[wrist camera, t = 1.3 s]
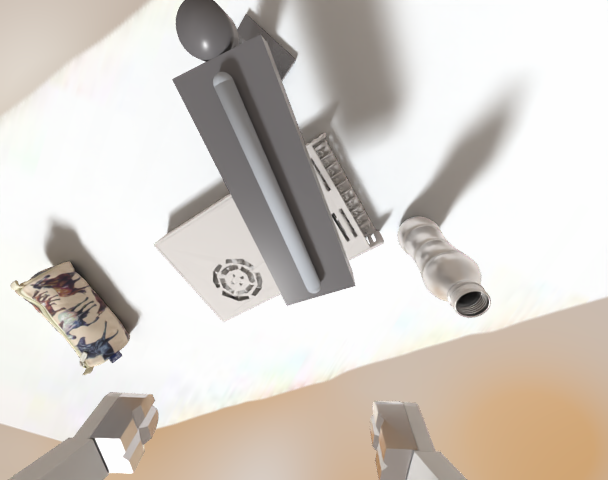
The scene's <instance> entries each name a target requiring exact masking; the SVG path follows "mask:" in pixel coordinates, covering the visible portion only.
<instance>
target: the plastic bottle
mask: <svg viewBox="0 0 608 480" xmlns="http://www.w3.org/2000/svg"><path fill="white" fill-rule="evenodd" d="M397 236H398V242H399V244H400V246H401V248H402V249H403V250H404V251H405V252H406V253H407V254H409V255H410V256H411V257H412V259H413V260H414V261H415V262H416V264H417V266H418V268H419V270H420V273H421V276H422V278H423V282H424V284H425V286H426V288H427V289H428V291H429V292H430V293H431V294H433V295H434V296H435V297H437V298H439V299H441V300H443V301H447V302H449V303H450V305H451V306H452V307H453V308H454V309H455V311H456V312H457V313H458V314H459V315H461V316H463V317H468V318H472V317H477V316H480V315H482V314H483V313H485V312H486V311H487V310H488V309H489V307H490V304H491V300H490V297H489V295H488V294H487V293H486V292H485V290H484V288H483V287H482V286H481V285H480V284H481V273H480V270H479V267H478V265H477V264H476V262H475V261H474V260H472V259H471V258H470V257H469V256H467V255H466V254H464V253H462V252H461V251H459V250H458V249H456V248H455V247H454V246H452V245H451V244H450V243H449V242H448V241H447V240H446V239H445V237H444V236H443V234H442V232H441V230H440V229H439V227H438V225H437V224H436V223H435V222H433V221H432V220H430V219H428V218H425V217H421V216H416V217H412V218H409V219H407V220H406V221H404V222H403V223H402V224H401V226H400V227H399V229H398V234H397Z"/></svg>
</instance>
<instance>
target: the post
mask: <svg viewBox="0 0 608 480" xmlns="http://www.w3.org/2000/svg"><path fill="white" fill-rule="evenodd" d="M237 31H238V37H239V45H241V44H243V43H245V42H246V41H248V40H250V39H252V38H254V37H256V36H258V35H260V34H261V35H262V37H263V38H264V39H265V40H266V42H267V43H268V46H269V48H270V51H271V54H272V57H273V59H274V62H275V65H276V67H277V70H278V73H279V75H280V78H281V81H283V79H284V78H285V76H286V75H287V73H288V72H289V70H290V69H291V67H292V66H293V64H294V63H295V61H296V59H295V58H293V57H292V56H291V55H290V54H289V53H288V52H287V51H286V50H285V49H284V48H283V47H282V46H280V45H279V44H278V43H277V42H276V41H275V40H274V39H273V38H272V37H271V36H270V35H269V34H267V33H266V32H265V31H264V30H263V29H262V28H261V27H260V26H259V25H258V24H257V23H256V22H254V21H253V20H252V19H251V18H250V17H249V16H248V15H247V14H246V15H245V17H244V19H243V20H242V22H241V24H240V26H239V28H238V29H237ZM239 45H238V46H239Z"/></svg>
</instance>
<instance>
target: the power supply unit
mask: <svg viewBox="0 0 608 480" xmlns="http://www.w3.org/2000/svg"><path fill="white" fill-rule="evenodd" d="M325 137H326V133H323V134H321V135H319V138H317V139H316V138H315V139H313V140H312V142H311V143H307V144H306V148H307V151H308V153H309V156H310V159H311V161H312V164H313V167H314V170H315V172H316V175H317V178H318V180H319V183H320V186H321V188H322V191H323V194H324V196H325V199H326V202H327V205H328V207H329V210H330V213H331V215H332V218H333V221H334V223H335V226H336V229H337V231H338V234H339V237H340V240H341V242H342V245H343V248H344V250H345V253H346V256H347V258H348V261H349V260H351V259H353V258H355V257H357V256H359V255H361V254H363V253H365V252H367V251H369V250H371V249H373V248H375V247H377V246H379V245H381V244H383V242H384V240H383V238H382V236H381V234H380V232H379V230H378V231H376V229H375V227H374V225H373V224H372V222H371V220H370V218H369V216H368V214H367V213H366V211H365V209H364V207H363V205H362V204H361V202H360V200H359V198H358V196H357V195H356V193H355V191H354V189H353V187H352V186H351V184H350V182H349V180H348V178H347V176H346V175H345V173H344V171H343V169H342V167H341V166H340V164H339V162H338V160H337V158H336V157H335V155H334V153H333V151H332V149H331V147H330V146H329V144H328V142H327V140H326V138H325ZM372 233H374V236H375V238H376V240H377V241H376V242H373V240H372V238H371V235H370V234H372ZM366 236H367V237H368V239H369V242H370V244H368V242H367V240H366V238H365V237H366ZM154 246H155V247H156V248H157V249H158V250H159V251H160V253H161V254H162V255H163V256H164V257H165V258H166V259H167V260H168V261H169V263H170V264H171V265H172V266H173V267H174V268H175V269H176V270H177V271H178V273H179V274H180V275H181V276H182V277H183V278H184V279H185V280H186V281H187V283H188V284H189V285H190V286H191V287H192V288H193V289H194V290H195V291H196V293H197V294H198V295H199V296H200V297H201V298H202V299H203V300H204V301H205V303H206V304H207V305H208V306H209V307H210V308H211V309H212V310H213V311H214V313H215V314H216V315H217V316H218V317H219V318H220V319H221V320H222V321H223V322H225V321H227V320H229V319H231V318H233V317H235V316H237V315H239V314H241V313H243V312H245V311H247V310H249V309H251V308H253V307H255V306H257V305H259V304H261V303H264V302H266V301H268V300H270V299H272V298H274V297H276V296H278V295H280V294H281V293H280V291H279V289H278V287H277V285H276V283H275V281H274V279H273V277H272V275H271V273H270V271H269V269H268V267H267V265H266V263H265V261H264V259H263V257H262V255H261V253H260V251H259V249H258V247H257V245H256V243H255V241H254V240H253V238H252V236H251V234H250V232H249V230H248V228H247V226H246V224H245V222H244V220H243V218H242V216H241V214H240V212H239V210H238V208H237V206H236V204H235V202H234V200H233V198H232V196H231V194H228V195H226V196H225V197H223V198H222V199H220V200H219V201H217V202H216V203H214V204H212V205H211V206H209V207H208V208H206V209H205V210H203V211H202V212H200V213H198V214H197V215H195V216H194V217H192V218H191V219H189V220H188V221H186V222H185V223H183V224H181V225H180V226H178V227H177V228H175V229H174V230H172V231H171V232H169V233H168V234H166V235H165V236H164V237H162V238H161V239H160V240H159V241H157V242H156V243H155V244H154Z"/></svg>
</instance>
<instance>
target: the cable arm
mask: <svg viewBox="0 0 608 480" xmlns="http://www.w3.org/2000/svg"><path fill="white" fill-rule="evenodd" d="M176 30H177V34H178V37H179V40H180V42H181V44H182V45H183V47H184V48H185V49H186V50H187V51H188V52H189V53H190V54H191V55H192V56H194V57H196V58H198V59H201V60H203V61H205V63H203V64H201V65H199V66H197V67H195V68H194V69H192V70H190V71H188V72H186V73H184V74H182V75H180V76H178V77H176V78H174V79H172V80H173V82H174V84H175V86H176V88H177V90H178V92H179V94H180V95H181V97H182V99H183V101H184V103H185V105H186V107H187V109H188V111H189V113H190V115H191V117H192V119H193V121H194V123H195V125H196V127H197V129H198V131H199V133H200V135H201V137H202V139H203V141H204V143H205V145H206V147H207V149H208V151H209V153H210V155H211V157H212V159H213V161H214V163H215V165H216V167H217V168H218V170H219V172H220V174H221V176H222V178H223V180H224V182H225V184H226V186H227V188H228V190H229V192H230V194H231V196H232V198H233V200H234V202H235V204H236V206H237V208H238V210H239V212H240V214H241V216H242V218H243V220H244V222H245V224H246V226H247V228H248V230H249V232H250V234H251V236H252V238H253V240H254V241H255V243H256V245H257V247H258V249H259V251H260V253H261V255H262V257H263V259H264V261H265V263H266V265H267V267H268V269H269V271H270V273H271V275H272V277H273V279H274V281H275V283H276V285H277V287H278V289H279V291H280V293H281V295H282V297H283V299H284V301H285V303H286V305H291V304H294V303H297V302H301V301H304V300H308V299H311V298H315V297H318V296H322V295H325V294H328V293H332V292H335V291H339V290H342V289H346V288H349V287H353V286H355V282H354V277H353V272H352V269H351V266H350V264H349V261H348V258H347V256H346V253H345V250H344V248H343V245H342V242H341V240H340V237H339V234H338V231H337V229H336V226H335V223H334V221H333V218H332V215H331V213H330V210H329V207H328V205H327V202H326V199H325V196H324V194H323V191H322V188H321V186H320V183H319V180H318V178H317V175H316V172H315V170H314V167H313V164H312V161H311V159H310V156H309V153H308V151H307V148H306V145H305V143H304V140H303V137H302V135H301V132H300V129H299V127H298V124H297V121H296V118H295V116H294V113H293V110H292V108H291V105H290V102H289V100H288V97H287V94H286V92H285V89H284V86H283V83H282V81H281V78H280V75H279V73H278V70H277V67H276V65H275V62H274V59H273V57H272V54H271V51H270V48H269V46H268V43H267V42H266V40H265V39H264V38H263V37H262V35H261V34H260V35H258V36H256V37H254V38H252V39H250V40H248V41H246V42H245V43H243V44H241V45H239V37H238V31H237V28H236V26H235V24H234V22H233V20H232V19H231V18H230V17H229V16H228V15H227V14H226V13H225V12H224V11H223V9H222V8H221V7H220V6H219V5H218V4H217V3H216V2H215V1H213V0H185V1H184V2H183V3H182V4H181V6H180V7H179V9H178V12H177V16H176ZM238 45H239V46H238Z"/></svg>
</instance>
